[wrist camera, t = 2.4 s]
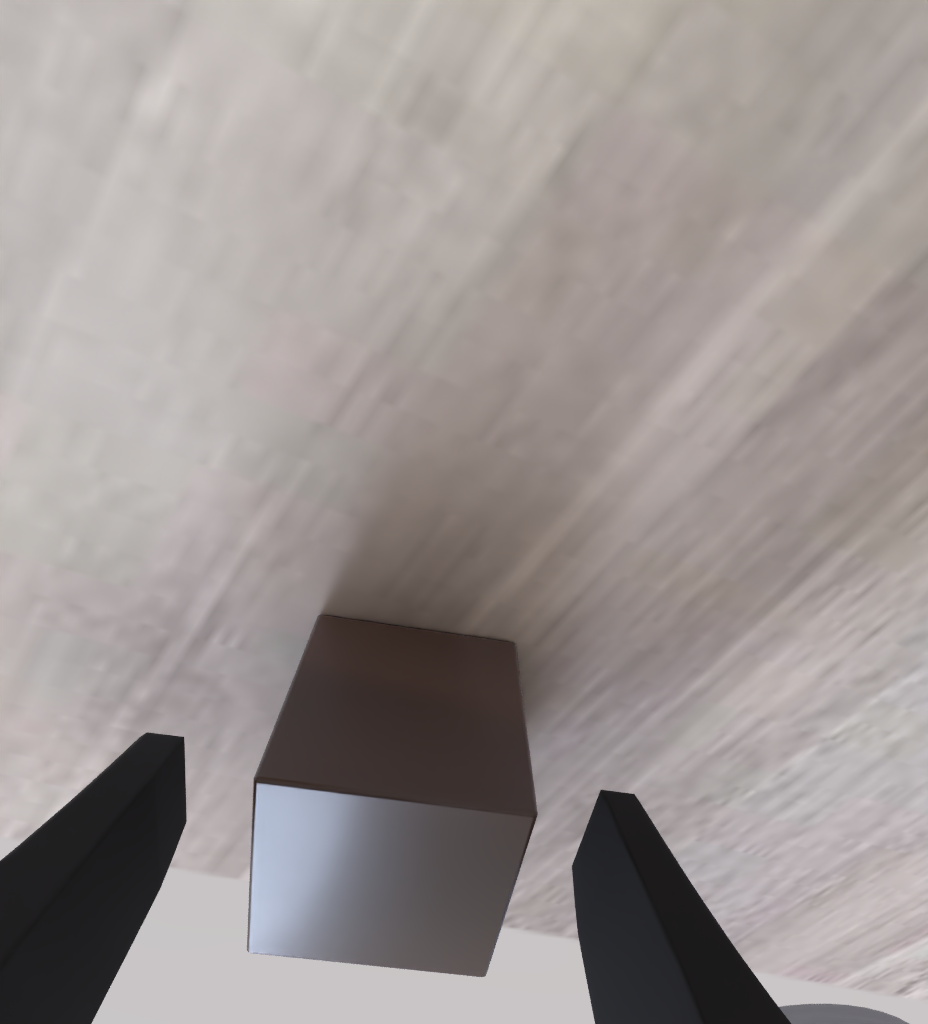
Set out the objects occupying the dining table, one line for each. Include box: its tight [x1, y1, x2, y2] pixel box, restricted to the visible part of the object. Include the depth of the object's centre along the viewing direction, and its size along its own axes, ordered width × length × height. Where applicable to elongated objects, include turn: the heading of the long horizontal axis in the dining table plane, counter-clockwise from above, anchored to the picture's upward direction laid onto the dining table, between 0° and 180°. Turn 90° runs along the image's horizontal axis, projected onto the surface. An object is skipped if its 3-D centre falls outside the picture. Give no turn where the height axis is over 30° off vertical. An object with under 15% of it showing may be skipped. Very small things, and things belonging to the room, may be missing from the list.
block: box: [247, 615, 538, 977], centre depth 11 cm, size 4×4×4 cm
